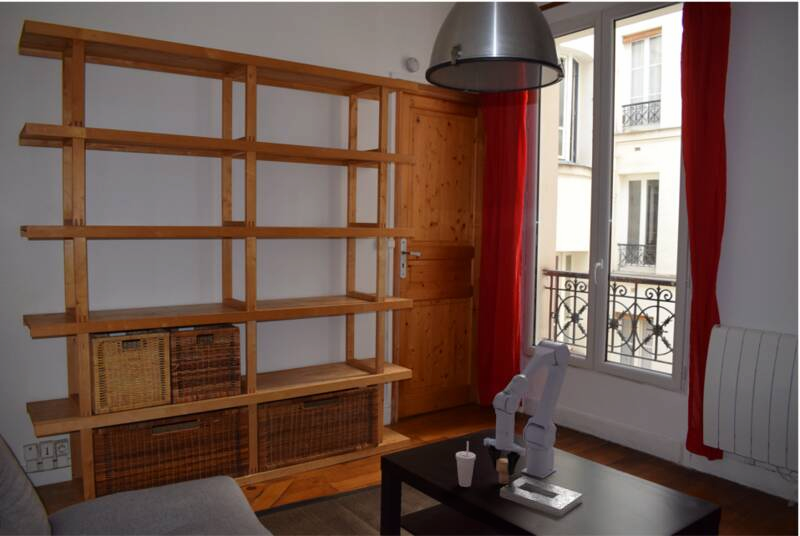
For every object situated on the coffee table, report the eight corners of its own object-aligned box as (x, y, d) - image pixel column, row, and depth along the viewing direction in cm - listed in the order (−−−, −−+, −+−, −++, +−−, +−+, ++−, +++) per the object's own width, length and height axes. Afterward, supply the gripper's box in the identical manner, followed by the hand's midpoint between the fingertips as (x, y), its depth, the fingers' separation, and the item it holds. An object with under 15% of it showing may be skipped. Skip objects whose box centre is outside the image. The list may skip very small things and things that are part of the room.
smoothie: (474, 489, 199) (475, 445, 198) (453, 487, 200) (454, 443, 199) (475, 481, 205) (477, 438, 204) (455, 479, 206) (457, 437, 205)
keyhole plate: (523, 482, 205) (523, 475, 204) (582, 501, 192) (582, 494, 191) (499, 496, 194) (500, 488, 194) (560, 517, 181) (560, 509, 181)
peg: (501, 478, 208) (501, 457, 208) (513, 482, 205) (514, 460, 205) (493, 482, 205) (493, 461, 204) (505, 486, 202) (506, 465, 201)
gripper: (479, 428, 205) (477, 469, 206) (518, 438, 196) (516, 481, 197) (491, 423, 211) (489, 463, 212) (530, 433, 201) (528, 475, 202)
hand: (503, 471), depth 205 cm, fingers closed on peg, 5 cm apart
